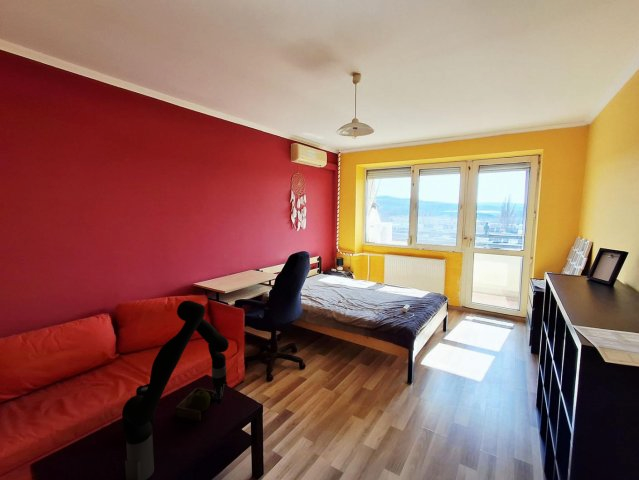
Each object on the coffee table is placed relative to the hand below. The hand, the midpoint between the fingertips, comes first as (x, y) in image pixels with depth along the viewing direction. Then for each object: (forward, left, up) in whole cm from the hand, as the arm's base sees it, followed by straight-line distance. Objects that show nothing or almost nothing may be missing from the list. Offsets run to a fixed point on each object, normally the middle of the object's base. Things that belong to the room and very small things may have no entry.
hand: (219, 403), depth 161 cm
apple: (-1, +11, -5) cm, 12 cm away
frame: (0, +13, -5) cm, 13 cm away
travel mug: (-18, +31, -5) cm, 36 cm away
